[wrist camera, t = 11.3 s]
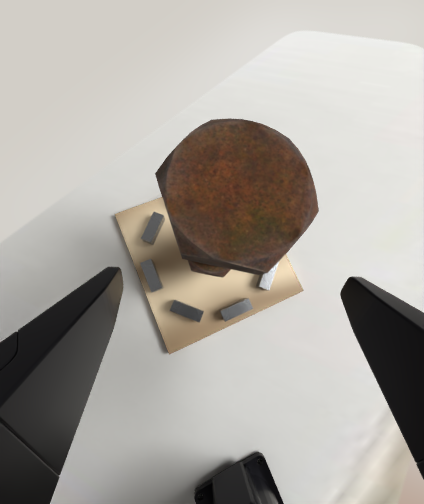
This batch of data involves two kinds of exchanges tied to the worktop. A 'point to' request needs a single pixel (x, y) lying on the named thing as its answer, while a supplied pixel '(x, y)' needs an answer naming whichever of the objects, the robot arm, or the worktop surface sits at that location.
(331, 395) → the worktop surface
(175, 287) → the tan flat square board
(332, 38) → the worktop surface
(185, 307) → the castellated ring
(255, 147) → the bolt
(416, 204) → the worktop surface
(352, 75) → the worktop surface
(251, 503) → the robot arm
